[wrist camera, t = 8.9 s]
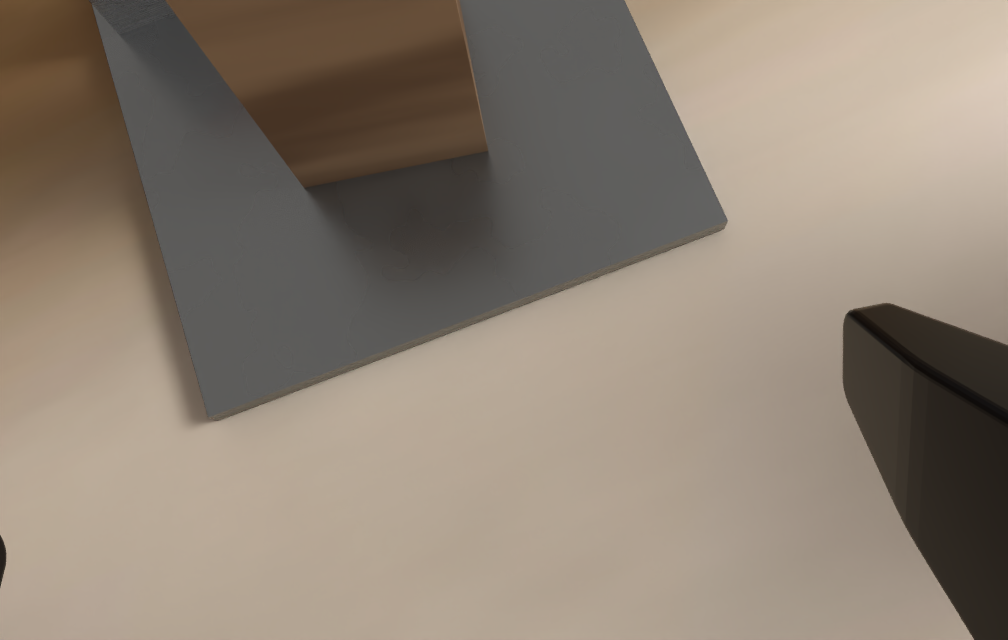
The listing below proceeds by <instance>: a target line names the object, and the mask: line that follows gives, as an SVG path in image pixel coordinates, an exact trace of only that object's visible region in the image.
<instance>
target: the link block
mask: <svg viewBox="0 0 1008 640" xmlns="http://www.w3.org/2000/svg"><path fill="white" fill-rule="evenodd" d="M165 1H166V2H167V3H168V5H169V6H170V7H171V9H172V10H173V11H174V13H175V14H176V16H177V17H178V18H179V20H180V21H181V22H182V24H183V25H184V26H185V28H186V29H187V30H188V32H189V33H190V34H191V36H192V37H193V39H194V40H195V41H196V43H197V44H198V45H199V47H200V48H201V49H202V51H203V52H204V53H205V55H206V56H207V57H208V59H209V60H210V62H211V63H212V64H213V66H214V67H215V68H216V70H217V71H218V72H219V74H220V75H221V76H222V78H223V79H224V80H225V82H226V83H227V84H228V86H229V87H230V89H231V90H232V91H233V93H234V94H235V95H236V97H237V98H238V99H239V101H240V102H241V103H242V105H243V106H244V107H245V109H246V110H247V112H248V113H249V114H250V116H251V117H252V118H253V120H254V121H255V122H256V124H257V125H258V126H259V128H260V129H261V130H262V132H263V133H264V135H265V136H266V137H267V139H268V140H269V141H270V143H271V144H272V145H273V147H274V148H275V149H276V151H277V152H278V153H279V155H280V156H281V158H282V159H283V160H284V162H285V163H286V164H287V166H288V167H289V168H290V170H291V171H292V172H293V174H294V175H295V176H296V178H297V179H298V181H299V182H300V183H301V185H302V186H303V187H304V188H306V187H311V186H316V185H321V184H326V183H331V182H336V181H341V180H346V179H351V178H356V177H361V176H366V175H371V174H376V173H381V172H386V171H391V170H396V169H401V168H406V167H411V166H416V165H421V164H426V163H431V162H436V161H441V160H446V159H451V158H456V157H461V156H466V155H471V154H476V153H481V152H486V151H488V146H487V141H486V136H485V131H484V125H483V120H482V115H481V110H480V105H479V99H478V94H477V89H476V84H475V79H474V73H473V68H472V63H471V58H470V52H469V47H468V42H467V37H466V32H465V26H464V21H463V16H462V11H461V6H460V0H165Z"/></svg>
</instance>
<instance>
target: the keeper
mask: <svg viewBox="0 0 1008 640" xmlns="http://www.w3.org/2000/svg"><path fill="white" fill-rule="evenodd" d="M89 1H90V2H91V4H92V7H93V10H94V14H95V17H96V21H97V25H98V28H99V32H100V35H101V39H102V42H103V46H104V49H105V53H106V56H107V60H108V64H109V67H110V71H111V74H112V78H113V81H114V85H115V88H116V92H117V95H118V99H119V103H120V106H121V110H122V113H123V117H124V120H125V124H126V127H127V131H128V134H129V138H130V142H131V145H132V149H133V152H134V156H135V159H136V163H137V166H138V170H139V173H140V177H141V181H142V184H143V188H144V191H145V195H146V198H147V202H148V205H149V209H150V213H151V216H152V220H153V223H154V227H155V230H156V234H157V237H158V241H159V244H160V248H161V252H162V255H163V259H164V262H165V266H166V269H167V273H168V276H169V280H170V283H171V287H172V291H173V294H174V298H175V301H176V305H177V308H178V312H179V315H180V319H181V322H182V326H183V330H184V333H185V337H186V340H187V344H188V347H189V351H190V354H191V358H192V361H193V365H194V369H195V372H196V376H197V379H198V383H199V386H200V390H201V393H202V397H203V400H204V404H205V408H206V411H207V415H208V418H211V419H214V420H216V421H218V420H221V419H224V418H226V417H229V416H232V415H234V414H237V413H240V412H242V411H245V410H247V409H250V408H253V407H255V406H258V405H261V404H263V403H266V402H269V401H271V400H274V399H276V398H279V397H282V396H284V395H287V394H290V393H292V392H295V391H298V390H300V389H303V388H306V387H308V386H311V385H313V384H316V383H319V382H321V381H324V380H327V379H329V378H332V377H335V376H337V375H340V374H343V373H345V372H348V371H350V370H353V369H356V368H358V367H361V366H364V365H366V364H369V363H372V362H374V361H377V360H380V359H382V358H385V357H387V356H390V355H393V354H395V353H398V352H401V351H403V350H406V349H409V348H411V347H414V346H417V345H419V344H422V343H424V342H427V341H430V340H432V339H435V338H438V337H440V336H443V335H446V334H448V333H451V332H454V331H456V330H459V329H461V328H464V327H467V326H469V325H472V324H475V323H477V322H480V321H483V320H485V319H488V318H490V317H493V316H496V315H498V314H501V313H504V312H506V311H509V310H512V309H514V308H517V307H520V306H522V305H525V304H527V303H530V302H533V301H535V300H538V299H541V298H543V297H546V296H549V295H551V294H554V293H557V292H559V291H562V290H564V289H567V288H570V287H572V286H575V285H578V284H580V283H583V282H586V281H588V280H591V279H594V278H596V277H599V276H601V275H604V274H607V273H609V272H612V271H615V270H617V269H620V268H623V267H625V266H628V265H631V264H633V263H636V262H638V261H641V260H644V259H646V258H649V257H652V256H654V255H657V254H660V253H662V252H665V251H668V250H670V249H673V248H675V247H678V246H681V245H683V244H686V243H689V242H691V241H694V240H697V239H699V238H702V237H705V236H707V235H710V234H712V233H715V232H718V231H720V230H723V229H724V228H725V226H726V224H727V222H728V220H727V218H726V216H725V214H724V212H723V209H722V207H721V205H720V203H719V201H718V199H717V197H716V194H715V192H714V190H713V188H712V186H711V184H710V182H709V180H708V177H707V175H706V173H705V171H704V169H703V167H702V165H701V163H700V160H699V158H698V156H697V154H696V152H695V150H694V148H693V146H692V143H691V141H690V139H689V137H688V135H687V133H686V131H685V128H684V126H683V124H682V122H681V120H680V118H679V116H678V114H677V111H676V109H675V107H674V105H673V103H672V101H671V99H670V97H669V94H668V92H667V90H666V88H665V86H664V84H663V82H662V80H661V77H660V75H659V73H658V71H657V69H656V67H655V65H654V63H653V60H652V58H651V56H650V54H649V52H648V50H647V48H646V45H645V43H644V41H643V39H642V37H641V35H640V33H639V31H638V28H637V26H636V24H635V22H634V20H633V18H632V16H631V14H630V11H629V9H628V7H627V5H626V3H625V1H624V0H460V6H461V11H462V16H463V21H464V26H465V32H466V37H467V42H468V47H469V52H470V58H471V63H472V68H473V73H474V79H475V84H476V89H477V94H478V99H479V105H480V110H481V115H482V120H483V125H484V131H485V136H486V141H487V146H488V151H486V152H481V153H476V154H471V155H466V156H461V157H456V158H451V159H446V160H441V161H436V162H431V163H426V164H421V165H416V166H411V167H406V168H401V169H396V170H391V171H386V172H381V173H376V174H371V175H366V176H361V177H356V178H351V179H346V180H341V181H336V182H331V183H326V184H321V185H316V186H311V187H306V188H304V187H303V186H302V185H301V183H300V182H299V181H298V179H297V178H296V176H295V175H294V174H293V172H292V171H291V170H290V168H289V167H288V166H287V164H286V163H285V162H284V160H283V159H282V158H281V156H280V155H279V153H278V152H277V151H276V149H275V148H274V147H273V145H272V144H271V143H270V141H269V140H268V139H267V137H266V136H265V135H264V133H263V132H262V130H261V129H260V128H259V126H258V125H257V124H256V122H255V121H254V120H253V118H252V117H251V116H250V114H249V113H248V112H247V110H246V109H245V107H244V106H243V105H242V103H241V102H240V101H239V99H238V98H237V97H236V95H235V94H234V93H233V91H232V90H231V89H230V87H229V86H228V84H227V83H226V82H225V80H224V79H223V78H222V76H221V75H220V74H219V72H218V71H217V70H216V68H215V67H214V66H213V64H212V63H211V62H210V60H209V59H208V57H207V56H206V55H205V53H204V52H203V51H202V49H201V48H200V47H199V45H198V44H197V43H196V41H195V40H194V39H193V37H192V36H191V34H190V33H189V32H188V30H187V29H186V28H185V26H184V25H183V24H182V22H181V21H180V20H179V18H178V17H177V16H176V14H175V13H174V11H173V10H172V9H171V7H170V6H169V5H168V3H167V2H166V1H165V0H89Z"/></svg>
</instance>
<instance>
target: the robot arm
mask: <svg viewBox="0 0 1008 640" xmlns="http://www.w3.org/2000/svg"><path fill="white" fill-rule="evenodd" d="M843 386H844V391H845V395H846V398H847V401H848V404H849V406H850V408H851V410H852V413H853V415H854V417H855V419H856V421H857V424H858V426H859V428H860V430H861V432H862V434H863V437H864V439H865V441H866V443H867V445H868V448H869V450H870V452H871V454H872V456H873V458H874V461H875V463H876V465H877V467H878V469H879V472H880V474H881V476H882V478H883V480H884V482H885V485H886V487H887V489H888V491H889V493H890V496H891V498H892V500H893V502H894V504H895V506H896V508H897V510H898V512H899V515H900V517H901V519H902V521H903V523H904V525H905V527H906V528H907V530H908V532H909V534H910V535H911V537H912V539H913V540H914V542H915V544H916V546H917V547H918V549H919V551H920V552H921V554H922V556H923V557H924V559H925V560H926V562H927V564H928V565H929V567H930V569H931V570H932V572H933V573H934V575H935V577H936V578H937V580H938V582H939V583H940V585H941V586H942V588H943V590H944V591H945V593H946V595H947V596H948V598H949V599H950V601H951V603H952V604H953V606H954V608H955V609H956V611H957V612H958V614H959V616H960V617H961V619H962V621H963V622H964V624H965V625H966V627H967V629H968V630H969V632H970V634H971V635H972V637H973V638H974V640H1008V345H1006V344H1003V343H1000V342H997V341H995V340H992V339H989V338H986V337H983V336H981V335H978V334H975V333H972V332H969V331H967V330H964V329H961V328H958V327H955V326H952V325H950V324H947V323H944V322H941V321H938V320H936V319H933V318H930V317H927V316H924V315H922V314H919V313H916V312H913V311H910V310H908V309H905V308H902V307H899V306H896V305H894V304H890V303H882V304H877V305H872V306H867V307H862V308H857V309H853V310H850V311H849V312H848V313H847V314H846V316H845V319H844V323H843ZM5 566H6V548H5V545H4V542H3V539H2V537H1V535H0V587H1V582H2V578H3V574H4V570H5Z"/></svg>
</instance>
